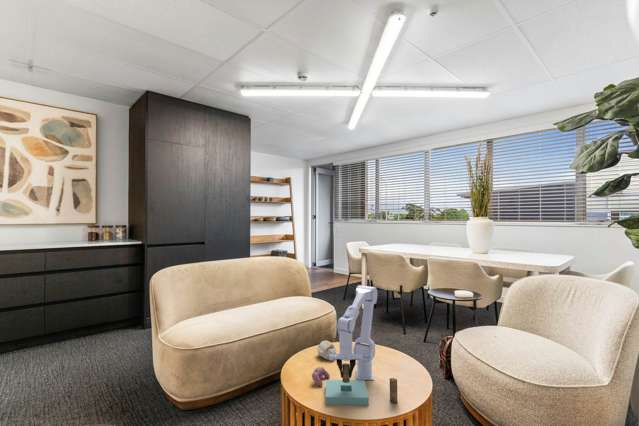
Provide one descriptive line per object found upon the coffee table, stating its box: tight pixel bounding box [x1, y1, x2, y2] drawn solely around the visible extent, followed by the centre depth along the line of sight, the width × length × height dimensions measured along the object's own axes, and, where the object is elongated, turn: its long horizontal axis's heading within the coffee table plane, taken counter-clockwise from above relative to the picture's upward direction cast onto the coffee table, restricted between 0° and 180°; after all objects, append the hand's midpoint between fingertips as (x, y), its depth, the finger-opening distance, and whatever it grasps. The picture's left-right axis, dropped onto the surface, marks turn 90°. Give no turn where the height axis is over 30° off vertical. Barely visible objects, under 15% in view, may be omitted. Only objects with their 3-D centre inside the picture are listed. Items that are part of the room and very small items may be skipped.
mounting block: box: [325, 379, 370, 406], centre depth 132 cm, size 14×18×3 cm
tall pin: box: [389, 377, 399, 404], centre depth 127 cm, size 3×3×9 cm
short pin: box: [341, 362, 351, 383], centre depth 132 cm, size 3×3×7 cm
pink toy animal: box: [311, 366, 330, 388], centre depth 144 cm, size 10×5×7 cm, turn 155°
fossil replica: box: [316, 339, 337, 361], centre depth 170 cm, size 12×8×10 cm
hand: (346, 376), depth 132 cm, fingers closed on short pin, 3 cm apart
